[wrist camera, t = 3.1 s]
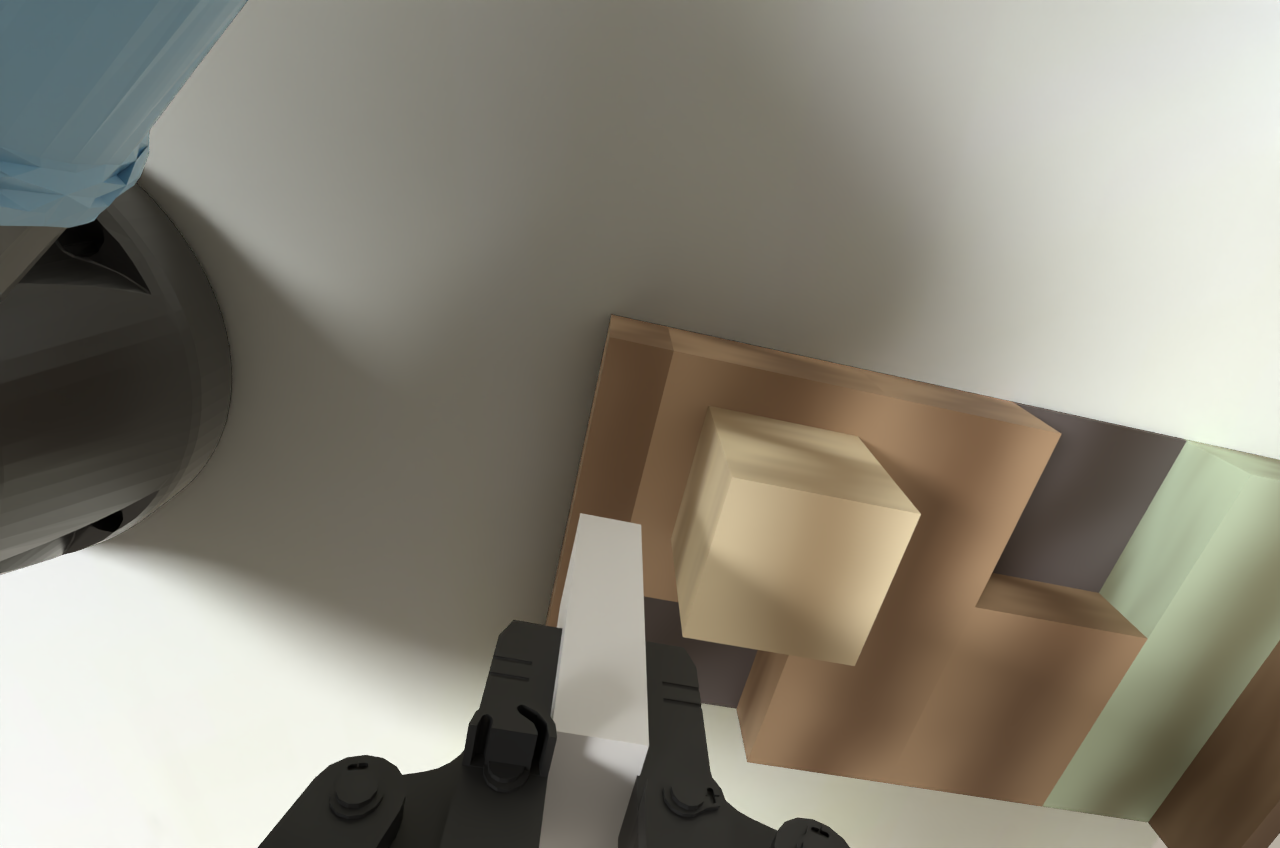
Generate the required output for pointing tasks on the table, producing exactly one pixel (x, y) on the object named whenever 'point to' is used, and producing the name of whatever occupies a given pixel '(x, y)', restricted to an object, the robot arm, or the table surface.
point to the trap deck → (985, 592)
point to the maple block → (786, 538)
